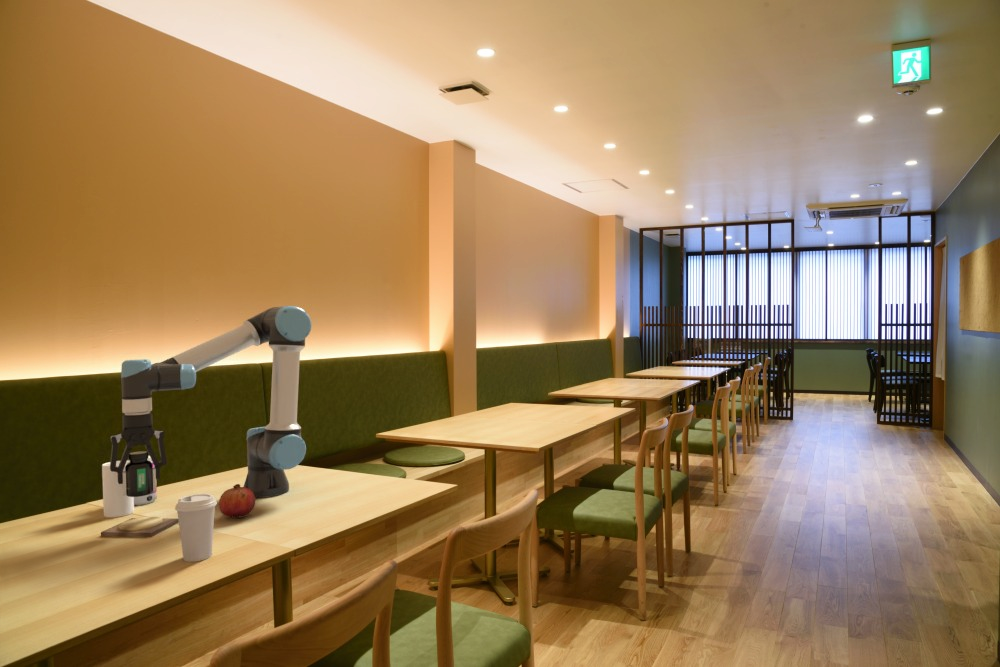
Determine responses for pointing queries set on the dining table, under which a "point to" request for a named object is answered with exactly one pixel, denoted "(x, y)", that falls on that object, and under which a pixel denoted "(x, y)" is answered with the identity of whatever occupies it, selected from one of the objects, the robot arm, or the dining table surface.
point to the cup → (115, 494)
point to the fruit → (237, 502)
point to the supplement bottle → (139, 475)
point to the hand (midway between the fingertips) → (139, 492)
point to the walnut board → (140, 527)
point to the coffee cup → (196, 525)
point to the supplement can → (146, 498)
